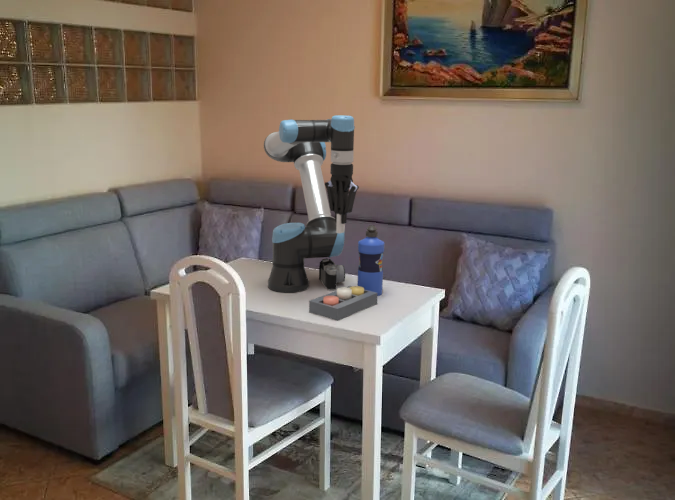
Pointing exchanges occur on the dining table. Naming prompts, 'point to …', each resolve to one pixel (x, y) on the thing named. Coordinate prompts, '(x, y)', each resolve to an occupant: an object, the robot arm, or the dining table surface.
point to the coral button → (331, 300)
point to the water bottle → (371, 261)
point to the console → (343, 305)
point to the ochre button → (357, 290)
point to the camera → (331, 274)
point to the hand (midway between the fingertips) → (340, 232)
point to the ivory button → (344, 293)
